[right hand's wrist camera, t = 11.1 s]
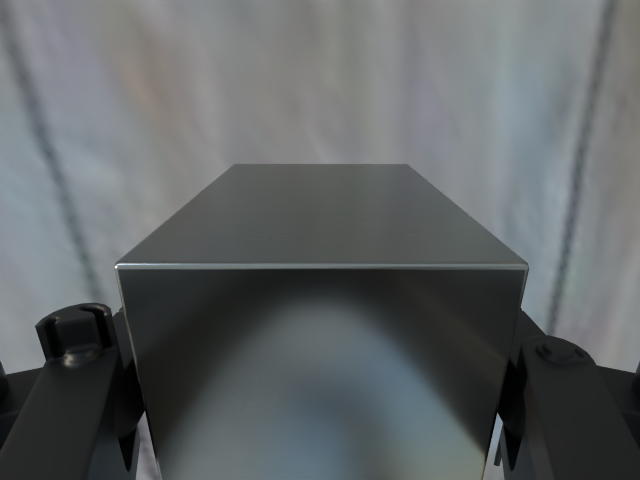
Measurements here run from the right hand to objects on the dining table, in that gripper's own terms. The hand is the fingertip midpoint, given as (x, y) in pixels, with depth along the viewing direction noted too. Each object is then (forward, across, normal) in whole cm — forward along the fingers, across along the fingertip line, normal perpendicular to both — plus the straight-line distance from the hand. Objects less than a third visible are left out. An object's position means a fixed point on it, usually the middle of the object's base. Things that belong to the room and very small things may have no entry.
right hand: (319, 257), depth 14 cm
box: (+1, 0, -10) cm, 10 cm away
